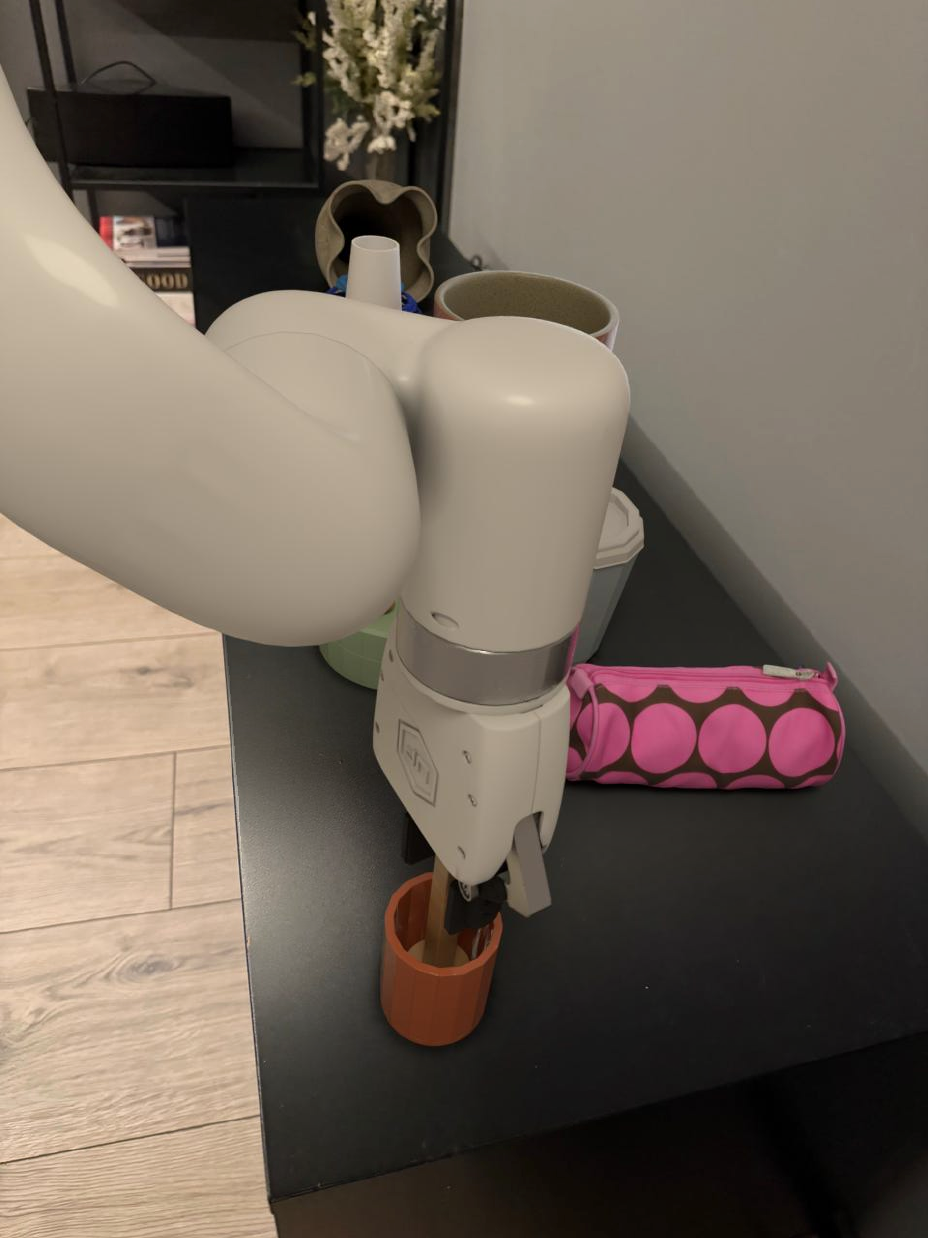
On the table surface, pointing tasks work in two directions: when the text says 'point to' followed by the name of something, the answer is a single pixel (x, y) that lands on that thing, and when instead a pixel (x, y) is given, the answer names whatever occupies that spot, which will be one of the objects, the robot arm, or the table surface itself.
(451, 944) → the wooden post with base
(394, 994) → the crock
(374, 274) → the champagne flute
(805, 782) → the pencil case
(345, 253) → the vase
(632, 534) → the disposable coffee cup
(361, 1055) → the table surface
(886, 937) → the table surface
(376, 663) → the bowl
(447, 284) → the planter
